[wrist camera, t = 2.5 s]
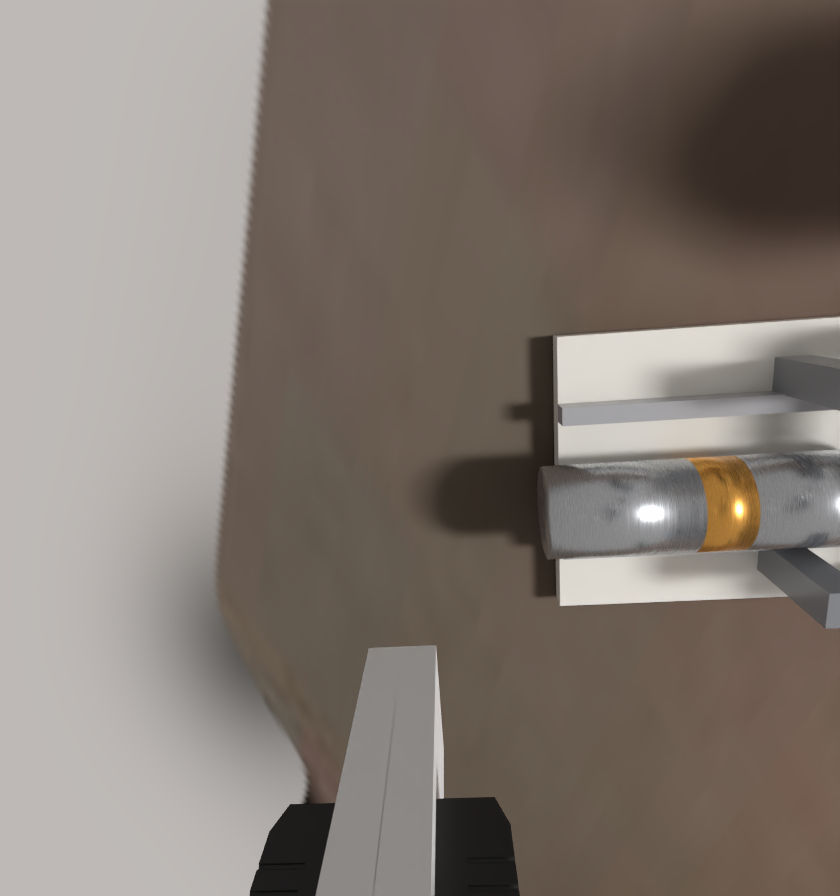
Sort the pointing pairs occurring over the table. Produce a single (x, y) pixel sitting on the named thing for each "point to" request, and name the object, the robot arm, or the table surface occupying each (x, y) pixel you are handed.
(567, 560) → the collar board
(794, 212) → the table surface
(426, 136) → the table surface
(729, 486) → the tube
